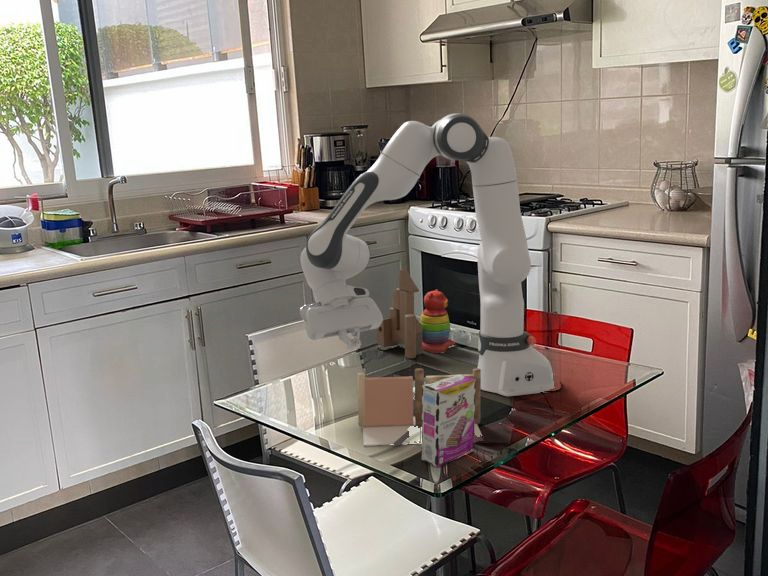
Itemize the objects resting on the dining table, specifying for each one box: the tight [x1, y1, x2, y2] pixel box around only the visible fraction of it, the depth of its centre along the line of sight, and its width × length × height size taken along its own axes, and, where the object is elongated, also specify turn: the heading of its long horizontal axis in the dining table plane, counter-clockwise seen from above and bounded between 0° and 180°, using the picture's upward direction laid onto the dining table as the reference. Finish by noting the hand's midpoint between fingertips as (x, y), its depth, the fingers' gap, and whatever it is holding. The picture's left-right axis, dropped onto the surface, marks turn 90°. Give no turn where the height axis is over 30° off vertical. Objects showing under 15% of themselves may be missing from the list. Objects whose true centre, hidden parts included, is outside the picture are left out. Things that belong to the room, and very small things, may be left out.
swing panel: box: [356, 372, 414, 428], centre depth 173 cm, size 12×2×12 cm, turn 93°
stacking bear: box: [419, 289, 457, 354], centre depth 233 cm, size 11×10×18 cm
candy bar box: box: [421, 373, 476, 468], centre depth 157 cm, size 11×5×16 cm, turn 131°
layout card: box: [362, 415, 483, 448], centre depth 172 cm, size 26×16×1 cm, turn 93°
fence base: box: [414, 367, 482, 426], centre depth 174 cm, size 15×2×14 cm, turn 93°
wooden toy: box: [376, 268, 423, 360], centre depth 229 cm, size 16×7×25 cm, turn 42°
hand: (355, 347), depth 186 cm, fingers closed
